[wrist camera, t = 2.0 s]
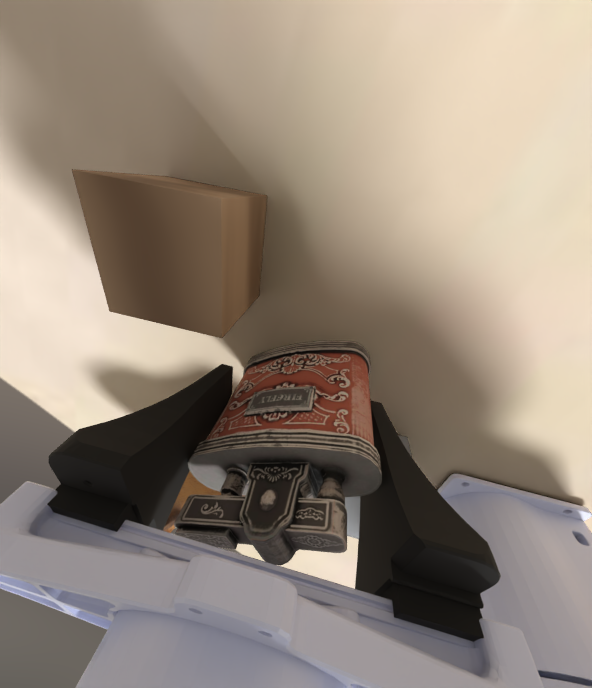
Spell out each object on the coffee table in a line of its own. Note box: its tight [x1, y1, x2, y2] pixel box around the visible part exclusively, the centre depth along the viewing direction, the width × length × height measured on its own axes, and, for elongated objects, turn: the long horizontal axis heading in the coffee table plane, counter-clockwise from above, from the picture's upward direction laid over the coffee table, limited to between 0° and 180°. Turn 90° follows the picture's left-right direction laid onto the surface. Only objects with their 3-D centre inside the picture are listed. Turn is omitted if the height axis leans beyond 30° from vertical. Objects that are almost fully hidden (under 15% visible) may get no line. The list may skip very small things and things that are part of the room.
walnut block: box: [72, 169, 267, 338], centre depth 11 cm, size 5×5×5 cm
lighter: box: [174, 341, 382, 565], centre depth 12 cm, size 8×3×10 cm, turn 107°
